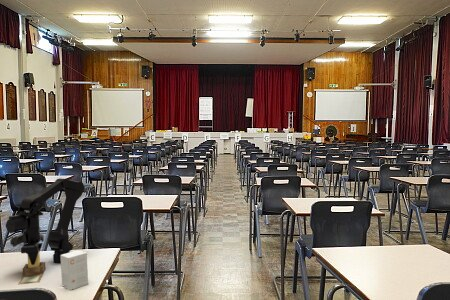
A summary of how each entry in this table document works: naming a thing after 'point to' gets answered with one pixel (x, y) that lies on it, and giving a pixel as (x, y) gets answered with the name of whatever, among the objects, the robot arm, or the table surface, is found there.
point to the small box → (74, 269)
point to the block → (37, 262)
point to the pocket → (34, 270)
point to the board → (30, 279)
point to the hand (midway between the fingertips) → (34, 263)
